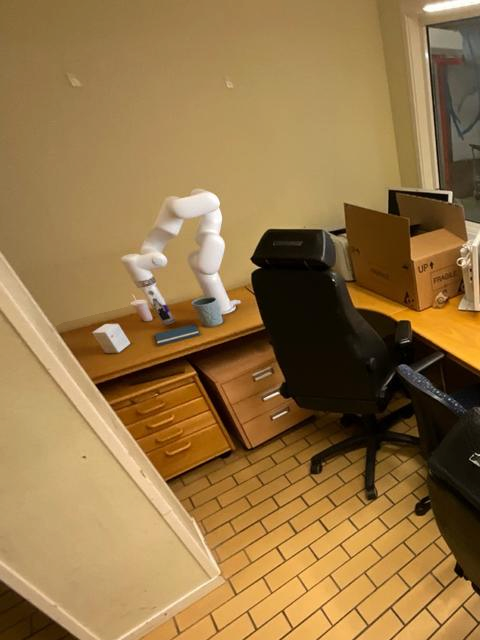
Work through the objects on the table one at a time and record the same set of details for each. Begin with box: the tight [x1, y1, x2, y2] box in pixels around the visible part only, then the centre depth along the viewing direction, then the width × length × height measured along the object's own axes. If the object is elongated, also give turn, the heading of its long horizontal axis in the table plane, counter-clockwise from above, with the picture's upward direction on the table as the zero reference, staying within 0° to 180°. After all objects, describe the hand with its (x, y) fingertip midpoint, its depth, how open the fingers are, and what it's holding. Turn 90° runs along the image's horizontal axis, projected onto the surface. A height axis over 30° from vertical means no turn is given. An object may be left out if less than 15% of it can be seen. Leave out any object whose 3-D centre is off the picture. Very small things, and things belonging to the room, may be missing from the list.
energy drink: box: [149, 302, 176, 325], centre depth 188 cm, size 5×5×12 cm
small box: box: [91, 323, 131, 354], centre depth 172 cm, size 8×6×10 cm
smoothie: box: [130, 293, 154, 322], centre depth 193 cm, size 6×6×14 cm
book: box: [154, 323, 201, 347], centre depth 185 cm, size 16×12×1 cm
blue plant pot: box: [191, 296, 224, 328], centre depth 192 cm, size 10×10×12 cm
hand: (165, 316), depth 189 cm, fingers closed on energy drink, 5 cm apart
